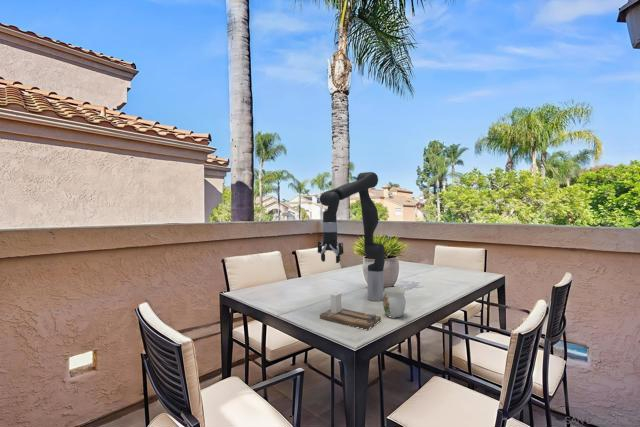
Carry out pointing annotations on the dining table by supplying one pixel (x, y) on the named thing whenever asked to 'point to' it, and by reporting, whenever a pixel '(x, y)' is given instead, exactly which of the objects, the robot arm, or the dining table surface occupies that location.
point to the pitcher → (394, 301)
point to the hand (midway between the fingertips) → (330, 262)
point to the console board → (351, 318)
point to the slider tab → (335, 302)
